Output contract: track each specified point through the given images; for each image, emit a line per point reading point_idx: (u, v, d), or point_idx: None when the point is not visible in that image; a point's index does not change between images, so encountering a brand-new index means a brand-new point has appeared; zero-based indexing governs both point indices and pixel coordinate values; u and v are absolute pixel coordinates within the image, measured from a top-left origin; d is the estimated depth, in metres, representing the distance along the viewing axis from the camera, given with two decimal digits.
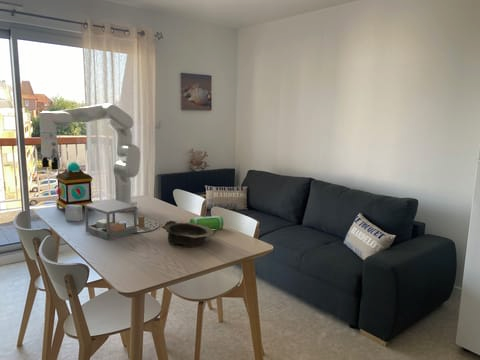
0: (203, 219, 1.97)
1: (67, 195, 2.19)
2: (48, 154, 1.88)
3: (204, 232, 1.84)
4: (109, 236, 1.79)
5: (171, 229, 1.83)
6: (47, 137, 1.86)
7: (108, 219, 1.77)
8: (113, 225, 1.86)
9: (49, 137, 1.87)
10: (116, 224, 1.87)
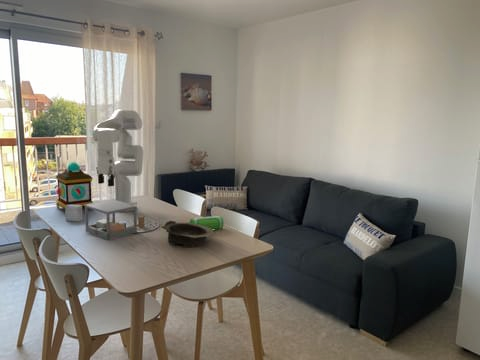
0: (203, 219, 1.97)
1: (67, 195, 2.19)
2: (105, 171, 1.90)
3: (204, 232, 1.84)
4: (109, 236, 1.79)
5: (171, 229, 1.83)
6: (104, 154, 1.89)
7: (108, 219, 1.77)
8: (113, 225, 1.86)
9: (106, 154, 1.89)
10: (116, 224, 1.87)
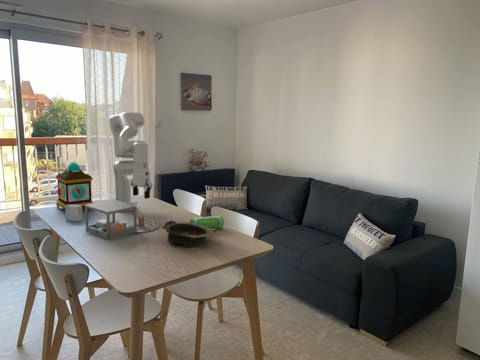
0: (203, 219, 1.97)
1: (67, 195, 2.19)
2: (141, 183, 1.92)
3: (204, 232, 1.84)
4: (109, 236, 1.79)
5: (171, 229, 1.83)
6: (141, 167, 1.91)
7: (108, 219, 1.77)
8: (113, 225, 1.86)
9: (143, 167, 1.91)
10: (116, 224, 1.87)
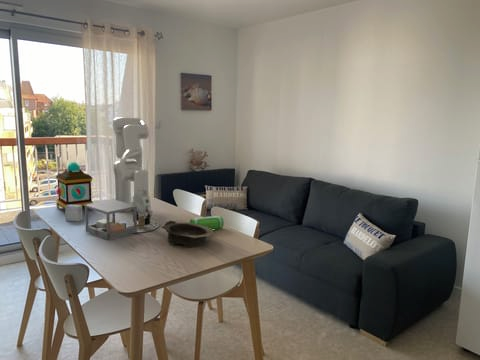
0: (204, 219, 1.97)
1: (67, 195, 2.19)
2: (142, 211, 1.95)
3: (204, 232, 1.84)
4: (109, 236, 1.79)
5: (171, 229, 1.83)
6: (141, 195, 1.94)
7: (108, 219, 1.77)
8: (113, 225, 1.86)
9: (143, 195, 1.94)
10: (116, 224, 1.87)
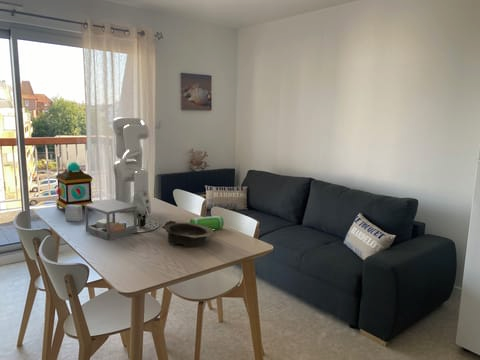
0: (204, 219, 1.97)
1: (67, 195, 2.19)
2: (142, 211, 1.95)
3: (204, 232, 1.84)
4: (109, 236, 1.79)
5: (171, 229, 1.83)
6: (141, 195, 1.94)
7: (108, 219, 1.77)
8: (113, 225, 1.86)
9: (143, 195, 1.94)
10: (116, 224, 1.87)
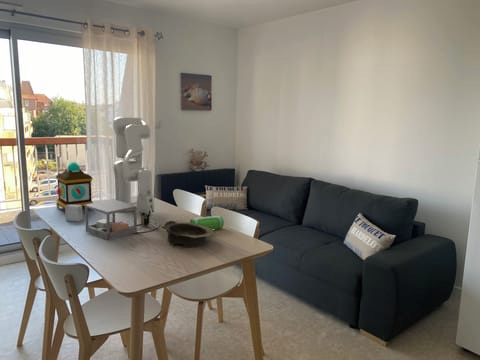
0: (204, 219, 1.97)
1: (67, 195, 2.19)
2: (145, 210, 1.97)
3: (204, 232, 1.84)
4: (109, 236, 1.79)
5: (171, 229, 1.83)
6: (145, 194, 1.96)
7: (108, 219, 1.77)
8: (117, 224, 1.88)
9: (147, 194, 1.96)
10: (120, 223, 1.89)
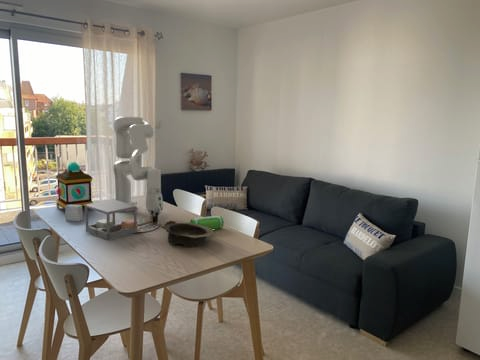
0: (204, 219, 1.97)
1: (67, 195, 2.19)
2: (154, 208, 2.02)
3: (204, 232, 1.84)
4: (109, 236, 1.79)
5: (171, 229, 1.83)
6: (154, 192, 2.00)
7: (108, 219, 1.77)
8: (127, 221, 1.92)
9: (156, 192, 2.01)
10: (129, 220, 1.94)
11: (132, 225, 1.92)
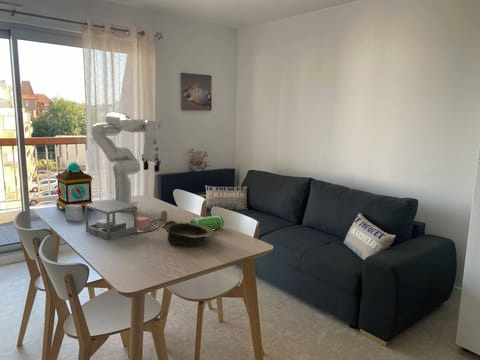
0: (204, 219, 1.96)
1: (67, 195, 2.19)
2: (152, 158, 2.11)
3: (204, 232, 1.84)
4: (109, 236, 1.79)
5: (171, 229, 1.83)
6: (151, 143, 2.09)
7: (108, 219, 1.77)
8: (139, 219, 1.98)
9: (153, 143, 2.10)
10: (142, 218, 2.00)
11: (144, 222, 1.98)
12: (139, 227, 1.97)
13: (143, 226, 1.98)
